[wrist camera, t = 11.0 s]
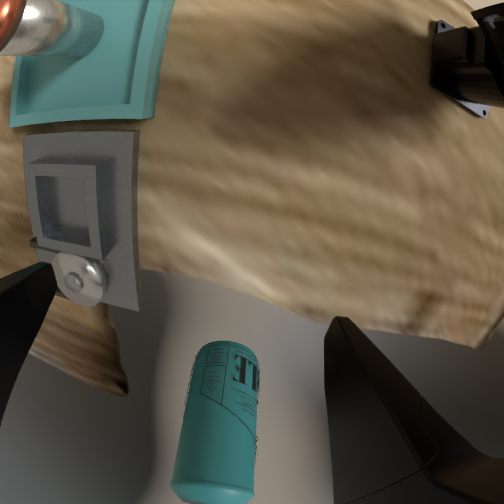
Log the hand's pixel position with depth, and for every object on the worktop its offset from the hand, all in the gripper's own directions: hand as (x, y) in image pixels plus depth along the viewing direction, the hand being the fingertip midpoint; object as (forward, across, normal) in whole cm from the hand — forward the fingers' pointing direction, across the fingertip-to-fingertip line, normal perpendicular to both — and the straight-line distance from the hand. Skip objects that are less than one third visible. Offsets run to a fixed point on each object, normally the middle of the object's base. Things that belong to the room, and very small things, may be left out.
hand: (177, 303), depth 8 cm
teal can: (+13, -2, +17) cm, 22 cm away
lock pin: (+12, +13, -11) cm, 21 cm away
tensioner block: (+13, +13, +5) cm, 19 cm away
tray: (+13, +13, -11) cm, 21 cm away
